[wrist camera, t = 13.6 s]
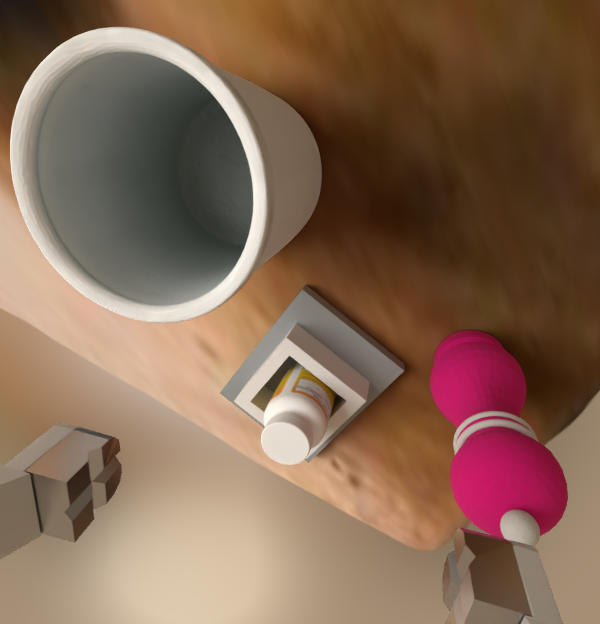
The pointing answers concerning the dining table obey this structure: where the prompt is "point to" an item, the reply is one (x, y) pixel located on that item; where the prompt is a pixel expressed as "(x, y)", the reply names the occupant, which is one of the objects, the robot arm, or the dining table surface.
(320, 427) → the supplement bottle
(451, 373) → the pepper mill
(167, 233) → the utensil holder
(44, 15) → the dining table surface
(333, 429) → the docking board
